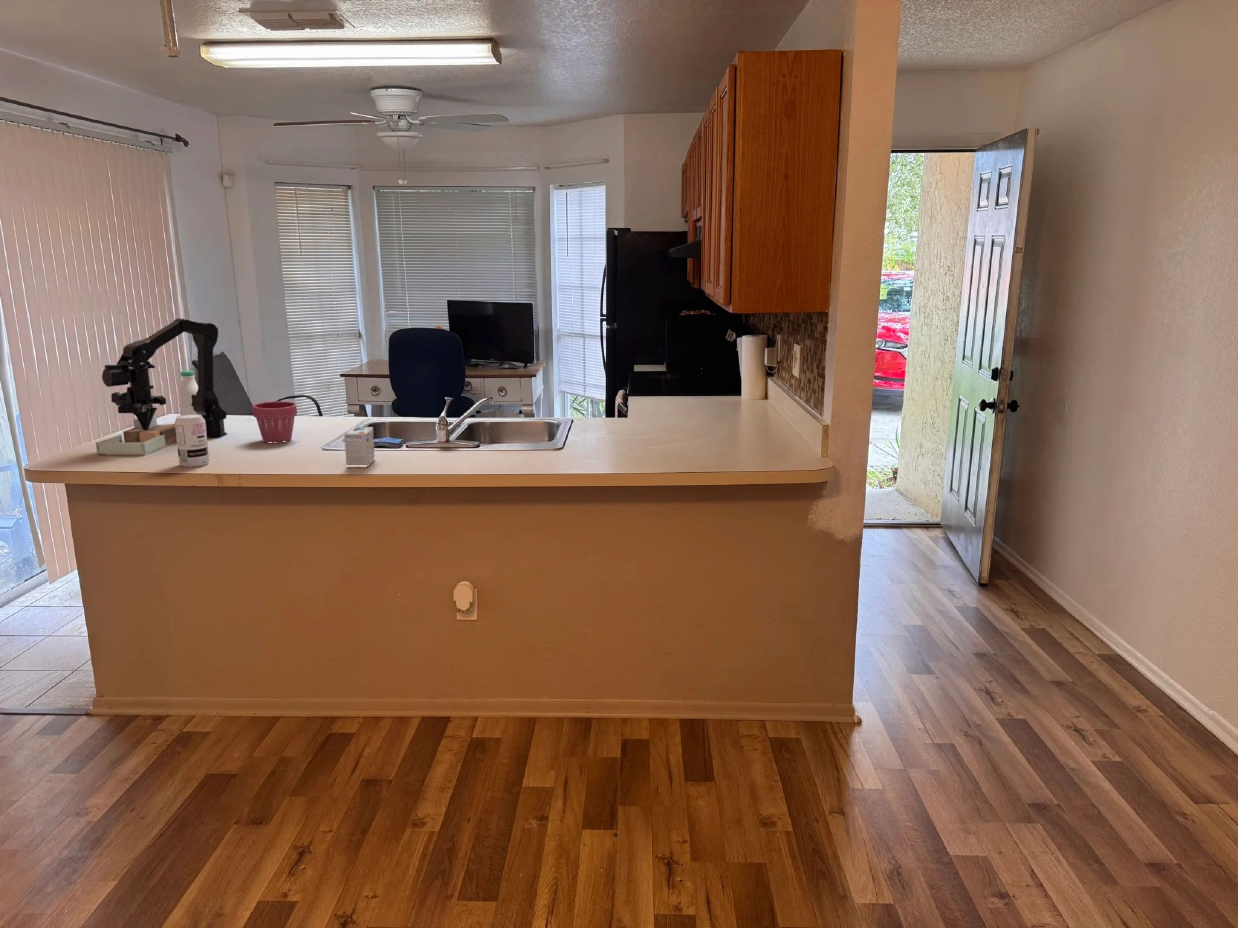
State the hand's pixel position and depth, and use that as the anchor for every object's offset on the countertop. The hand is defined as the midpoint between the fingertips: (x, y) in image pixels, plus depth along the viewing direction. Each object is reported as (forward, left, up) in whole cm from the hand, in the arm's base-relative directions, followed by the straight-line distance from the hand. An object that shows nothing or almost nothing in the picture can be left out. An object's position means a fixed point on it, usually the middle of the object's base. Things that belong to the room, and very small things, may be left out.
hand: (145, 430), depth 278 cm
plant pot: (-38, -14, -6) cm, 40 cm away
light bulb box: (-76, +18, -6) cm, 78 cm away
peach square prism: (-1, -2, -3) cm, 4 cm away
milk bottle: (+5, -43, -6) cm, 43 cm away
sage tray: (+3, +4, -6) cm, 8 cm away
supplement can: (-26, +21, -6) cm, 34 cm away
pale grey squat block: (+6, -11, -1) cm, 13 cm away
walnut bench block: (+2, -9, -6) cm, 11 cm away
